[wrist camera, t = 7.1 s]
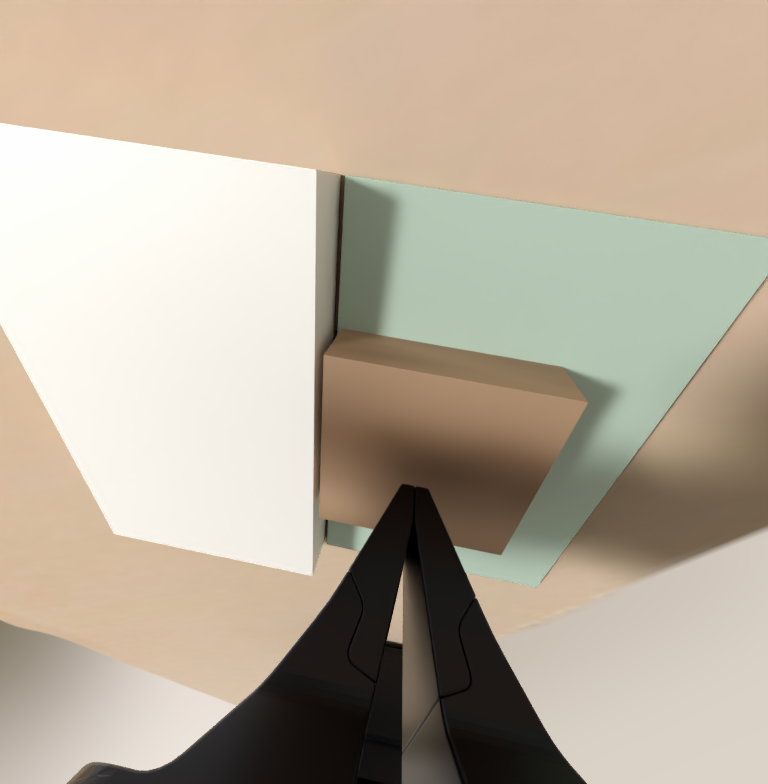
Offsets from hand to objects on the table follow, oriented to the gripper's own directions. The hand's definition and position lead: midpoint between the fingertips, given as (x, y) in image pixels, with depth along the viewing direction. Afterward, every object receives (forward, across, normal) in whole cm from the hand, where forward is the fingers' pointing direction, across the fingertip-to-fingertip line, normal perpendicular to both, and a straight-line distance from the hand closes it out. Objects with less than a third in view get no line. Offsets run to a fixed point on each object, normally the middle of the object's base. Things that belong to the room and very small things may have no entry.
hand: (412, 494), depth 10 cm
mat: (+3, -2, 0) cm, 4 cm away
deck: (+3, +8, 0) cm, 9 cm away
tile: (+3, 0, 0) cm, 3 cm away
